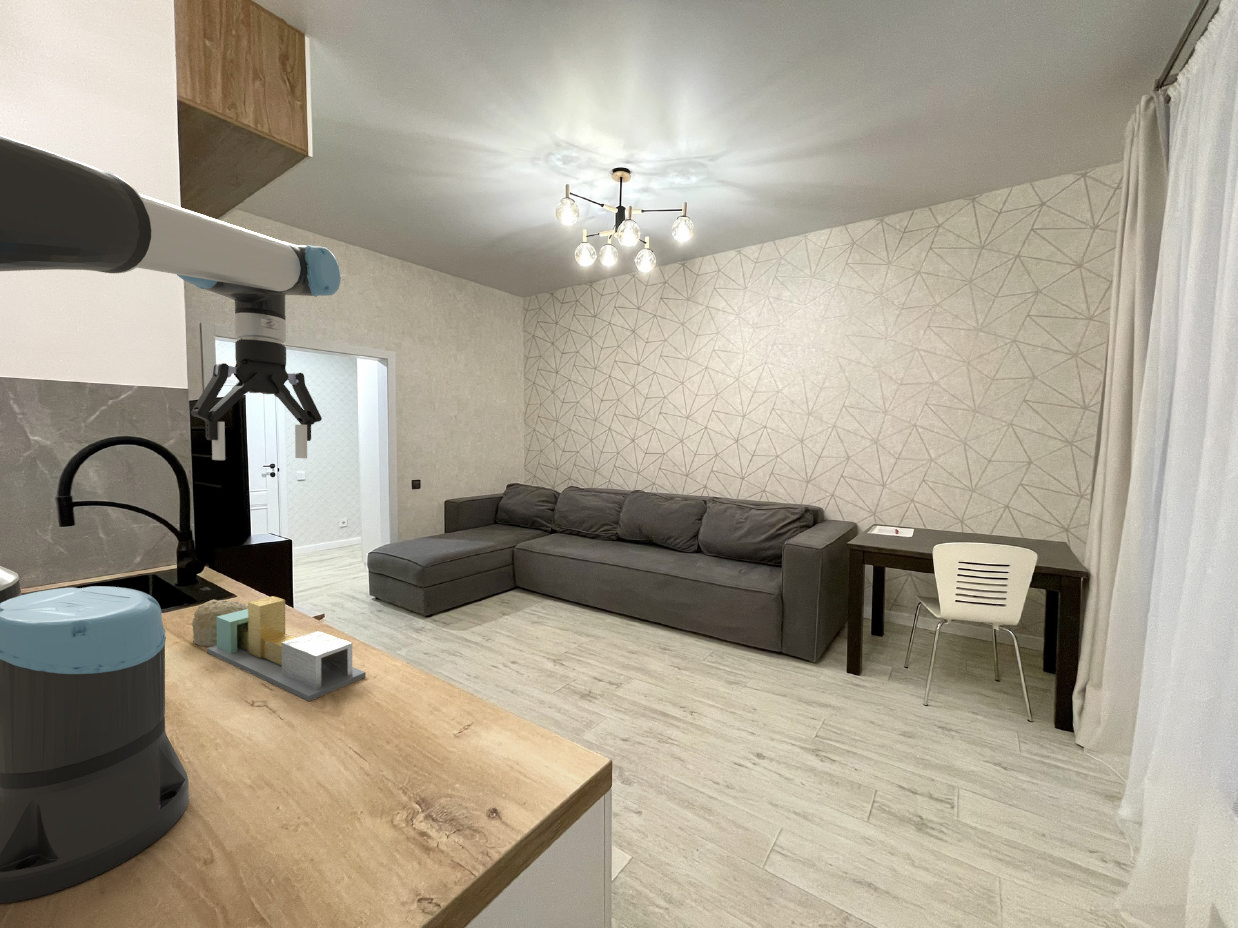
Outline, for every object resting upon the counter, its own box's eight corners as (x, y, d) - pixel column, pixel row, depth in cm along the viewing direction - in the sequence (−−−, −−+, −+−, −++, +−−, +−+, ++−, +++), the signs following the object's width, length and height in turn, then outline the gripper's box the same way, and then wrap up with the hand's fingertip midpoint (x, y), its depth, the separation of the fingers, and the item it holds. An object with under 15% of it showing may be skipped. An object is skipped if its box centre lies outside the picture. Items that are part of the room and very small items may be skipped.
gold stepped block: (293, 672, 81) (292, 617, 80) (231, 645, 91) (230, 596, 90) (318, 663, 84) (317, 610, 84) (256, 638, 94) (255, 590, 94)
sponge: (221, 649, 101) (185, 612, 98) (268, 617, 104) (234, 580, 101) (206, 668, 92) (165, 628, 90) (257, 632, 96) (219, 593, 93)
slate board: (309, 701, 74) (309, 695, 74) (207, 652, 90) (206, 648, 90) (365, 676, 82) (365, 672, 82) (262, 636, 98) (262, 632, 98)
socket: (230, 653, 88) (230, 622, 88) (216, 647, 90) (216, 616, 90) (273, 640, 94) (272, 611, 94) (259, 634, 96) (258, 606, 96)
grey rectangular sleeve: (316, 689, 76) (315, 656, 76) (281, 674, 81) (281, 642, 81) (352, 674, 81) (352, 642, 81) (318, 660, 86) (318, 630, 86)
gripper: (184, 325, 78) (187, 461, 79) (340, 351, 100) (341, 458, 101) (164, 329, 82) (167, 459, 83) (318, 354, 104) (319, 456, 105)
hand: (262, 459), depth 92 cm, fingers open, 13 cm apart
